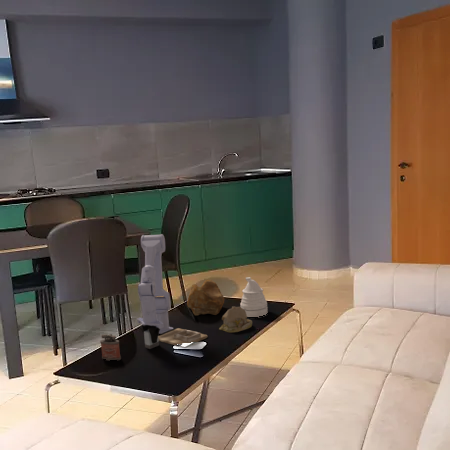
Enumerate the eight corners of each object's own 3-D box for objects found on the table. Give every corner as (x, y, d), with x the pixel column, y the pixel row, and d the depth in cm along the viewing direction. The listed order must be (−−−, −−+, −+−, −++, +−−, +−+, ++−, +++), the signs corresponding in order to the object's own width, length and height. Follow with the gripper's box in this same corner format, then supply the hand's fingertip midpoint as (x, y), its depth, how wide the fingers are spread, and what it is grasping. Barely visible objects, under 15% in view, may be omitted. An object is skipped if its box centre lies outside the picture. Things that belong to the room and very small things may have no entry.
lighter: (122, 357, 222) (120, 333, 221) (118, 361, 219) (115, 336, 218) (104, 356, 225) (102, 332, 223) (100, 359, 222) (97, 335, 220)
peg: (145, 347, 232) (143, 331, 231) (154, 343, 235) (152, 328, 234) (150, 349, 230) (148, 332, 229) (159, 345, 233) (157, 329, 232)
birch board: (155, 339, 240) (154, 333, 240) (178, 330, 251) (177, 323, 250) (184, 347, 228) (183, 340, 228) (207, 337, 239) (207, 330, 238)
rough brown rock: (213, 322, 261) (213, 291, 258) (182, 317, 268) (182, 286, 265) (234, 309, 281) (234, 280, 279) (204, 304, 288) (205, 276, 286)
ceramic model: (227, 334, 241) (226, 312, 239) (216, 327, 251) (214, 306, 249) (255, 327, 247) (254, 305, 246) (243, 321, 257) (241, 300, 256)
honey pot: (248, 319, 259) (245, 282, 256) (236, 312, 270) (234, 276, 268) (272, 314, 264) (270, 277, 261) (260, 308, 275) (257, 272, 273)
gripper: (130, 310, 232) (133, 341, 234) (153, 315, 223) (156, 348, 225) (143, 306, 237) (146, 336, 239) (166, 311, 228) (169, 342, 230)
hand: (151, 342), depth 232 cm, fingers closed on peg, 3 cm apart
